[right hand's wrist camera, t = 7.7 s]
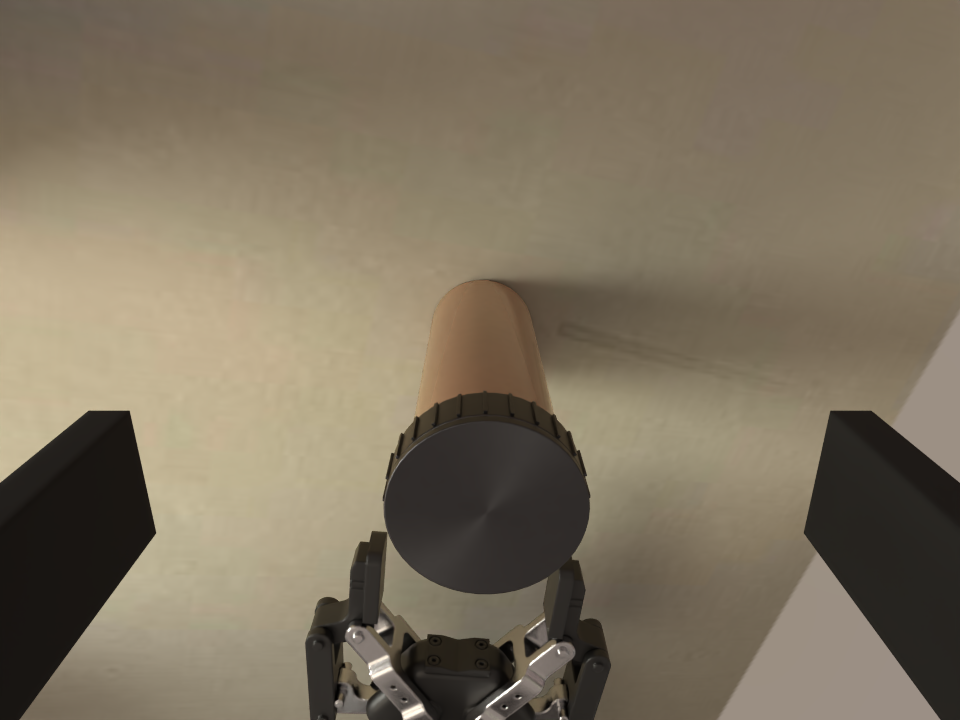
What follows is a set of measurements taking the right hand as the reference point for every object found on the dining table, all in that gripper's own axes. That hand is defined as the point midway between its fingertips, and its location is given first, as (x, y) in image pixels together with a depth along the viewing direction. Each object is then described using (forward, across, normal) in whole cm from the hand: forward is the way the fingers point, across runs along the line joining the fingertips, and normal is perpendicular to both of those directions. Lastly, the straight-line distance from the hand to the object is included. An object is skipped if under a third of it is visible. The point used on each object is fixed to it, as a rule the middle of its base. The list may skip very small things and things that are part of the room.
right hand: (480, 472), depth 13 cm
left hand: (+14, 0, +12) cm, 19 cm away
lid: (+5, 0, +4) cm, 7 cm away
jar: (+20, 0, +4) cm, 21 cm away
